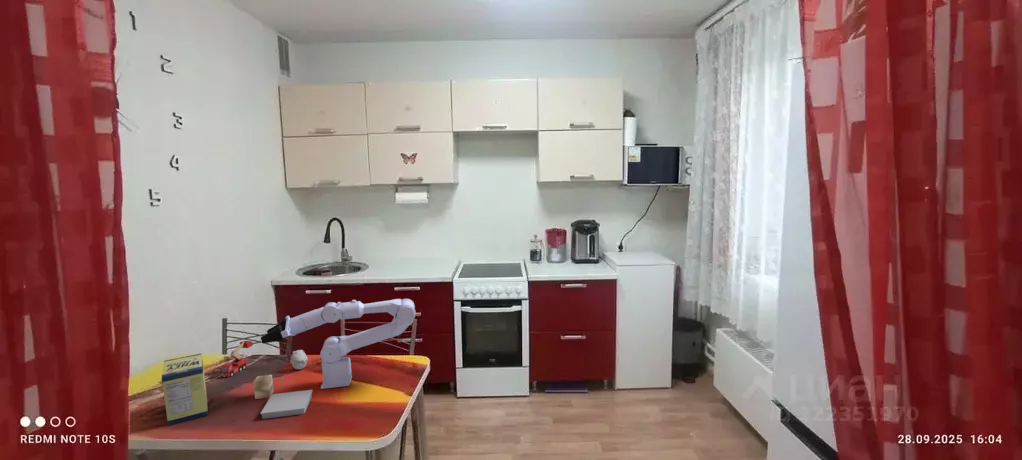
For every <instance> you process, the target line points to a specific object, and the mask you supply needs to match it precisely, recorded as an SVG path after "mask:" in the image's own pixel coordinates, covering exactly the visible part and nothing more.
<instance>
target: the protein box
mask: <svg viewBox="0 0 1022 460" xmlns="http://www.w3.org/2000/svg"><path fill="white" fill-rule="evenodd" d="M202 356H203V355H202V353H196V354H191V355H186V356H181V357H176V358H171V359H166V360H163V366H162V373H161V382H162V391H163V397H164V398H163V399H164V405H165V410H166V411H165V412H166V420H167V426H171V425H176V424H179V423H184V422H186V421H190V420H193V419H198V418H202V417H205V416H206V417H207V416H208V415H209V414H208V413H209V410H208V395H207V387H206V386H207V385H206V379H205V378H206V377H205V371H204V364H203V363H204V361H203V357H202Z"/></svg>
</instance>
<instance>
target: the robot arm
mask: <svg viewBox="0 0 1022 460" xmlns="http://www.w3.org/2000/svg"><path fill="white" fill-rule="evenodd" d="M415 308H416V305H415V303H414V300H412V299H410V298H403V299H402V298H394V299H391V300H390V299H388V300H383V301H375V302H370V303H369V302H368V303H363V302H362V301H361V300H358V301H357V300H356V299H352V300H351V301H348V302H347V301H346V302H341V301H337V303H336V302H332V301H331V302H330V301H329V302H327V303H326V304H325V305H324V306H322V307H319V308H317V309H316V308H315V309H313V310H310V311H308V312H305V313H301V314H299V315H296V316H294V317H290V315H286V316H285V318H284V319H283V320H281V321H280V322H279V323H277V324H276V325H274V326H273V327H270V328H268V329H267V330H266V332H267V333H266V334H264V335H262V336H261V337H260V341H261V343H262V344H269V343H285V342H286V341H287V339H286V338H287V337H289V336H290V337H295V336H296V335H298V334H300V333H303V332H306V331H308V330H312V329H314V328H316V327H319V326H322V325H324V324H327V323H329V324H330V323H332V324H335V323H336V322H338V321H339V320H349V319H358V318H359V319H360V318H362V316H363V315H364V314H377V313H378V314H379V313H388V314H389V315H391V316H393V319H392V321H391V322H387V323H385V324H381V325H378V326H376V327H372V328H369V329H366V330H363V331H362V330H361V331H360V332H357V333H354V334H350V335H340V336H332V335H331V336H329V337H327V338H326V339H325V340H324V342H323V346H322V348H321V351H320V352H319V353H320V354H319V356H320V358H321V359H320V360H321V370H322V384H321V386H320V389H321V390H323V389H325V390H326V389H331V388H332V389H333V388H340V387H349V386H350V384H351V382H352V378H353V373H352V364H351V358H350V357H349V356H347V354H348V353H350V352H351V351H353V350H357V349H360V348H362V347H367V346H369V345H372V344H376V343H378V342H382V341H384V340H388V339H391V338H394V337H397V336H400V335H402V334H403V332H405V331H406V330H407V328H408V327H409V326H410V325H411V324H413V323H414V320H415V318H416V313H417V312H416V309H415ZM345 355H346V356H345Z"/></svg>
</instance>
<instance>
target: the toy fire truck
mask: <svg viewBox="0 0 1022 460" xmlns="http://www.w3.org/2000/svg"><path fill="white" fill-rule="evenodd" d="M253 346H254V343H253V341H252V340H244V341H243V340H242V341H240V342H239V345H238V346H237V347H236V348H235V349H233V350H232V351H231V353H230V356H231V357H233V358H234V360H232V362H230V363H226V362H225V363H224V364H222V365H221V377H224V378H229V377H233V376H234V374H237V373H238V372H241V371H243V370H245V369H246V367H248V361H245V358H243V357H242V356H241V355H240V353H239V352H238V351H240V350H241V349H249V348H251V347H253Z"/></svg>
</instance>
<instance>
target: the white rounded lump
mask: <svg viewBox="0 0 1022 460" xmlns="http://www.w3.org/2000/svg"><path fill="white" fill-rule="evenodd" d="M289 361H290V365H292V367H293V368H294V369H295V370H302V369H303V368H305V367H306V366H307V362H308V356H307V354H306V353H305V351H304V350H303V349H297V350H294V351H292V354H291V356H290V360H289Z"/></svg>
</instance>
